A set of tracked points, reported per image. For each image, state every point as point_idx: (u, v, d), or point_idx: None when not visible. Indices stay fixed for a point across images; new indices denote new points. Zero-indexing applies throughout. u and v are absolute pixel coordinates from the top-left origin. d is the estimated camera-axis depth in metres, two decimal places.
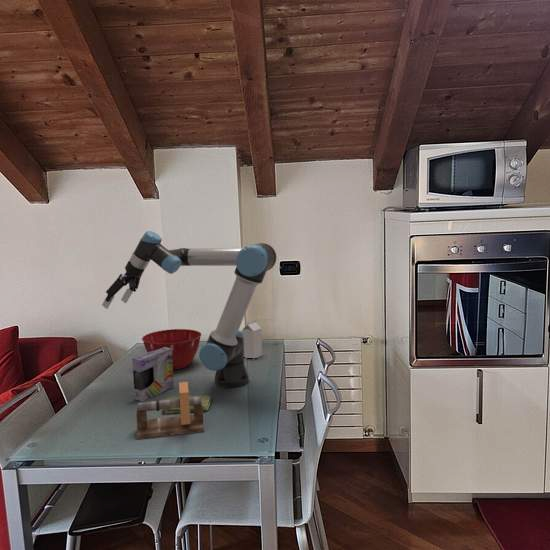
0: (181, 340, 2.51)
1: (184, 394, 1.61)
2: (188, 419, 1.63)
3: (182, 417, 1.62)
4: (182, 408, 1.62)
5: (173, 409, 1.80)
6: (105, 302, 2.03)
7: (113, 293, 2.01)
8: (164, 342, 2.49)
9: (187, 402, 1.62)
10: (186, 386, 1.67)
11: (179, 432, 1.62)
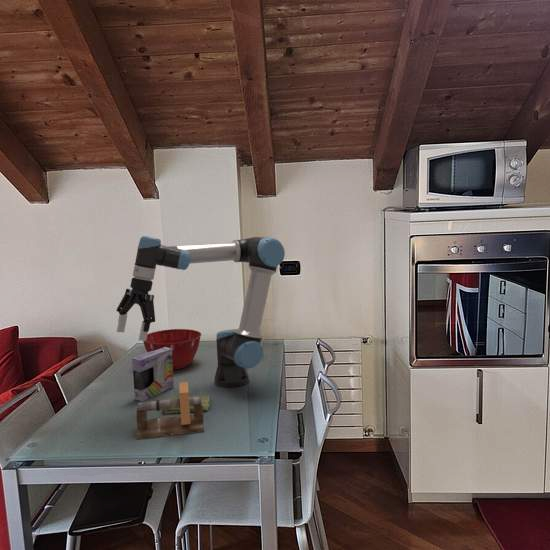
0: (181, 340, 2.51)
1: (184, 394, 1.61)
2: (188, 419, 1.63)
3: (182, 417, 1.62)
4: (182, 408, 1.62)
5: (173, 409, 1.79)
6: (143, 334, 1.72)
7: None
8: (164, 342, 2.49)
9: (187, 402, 1.62)
10: (186, 386, 1.67)
11: (179, 432, 1.62)
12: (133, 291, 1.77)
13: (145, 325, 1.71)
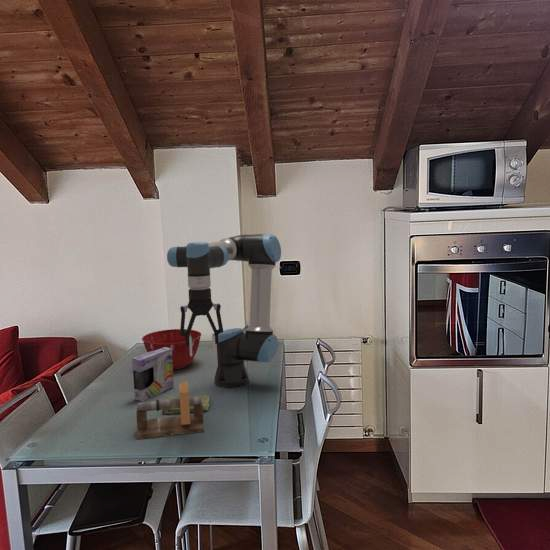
0: (181, 340, 2.51)
1: (184, 394, 1.61)
2: (188, 419, 1.63)
3: (182, 417, 1.62)
4: (182, 408, 1.62)
5: (173, 409, 1.79)
6: None
7: None
8: (164, 342, 2.49)
9: (187, 402, 1.62)
10: (186, 386, 1.67)
11: (179, 432, 1.62)
12: (192, 303, 1.63)
13: (216, 337, 1.67)
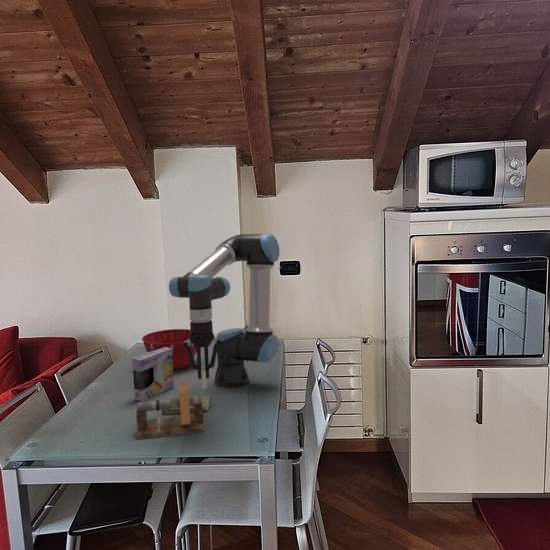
0: (181, 340, 2.51)
1: (184, 394, 1.61)
2: (188, 419, 1.63)
3: (182, 417, 1.62)
4: (182, 408, 1.62)
5: (173, 409, 1.79)
6: None
7: None
8: (164, 342, 2.49)
9: (187, 402, 1.62)
10: (186, 386, 1.67)
11: (179, 432, 1.62)
12: (193, 335, 1.64)
13: (207, 372, 1.67)
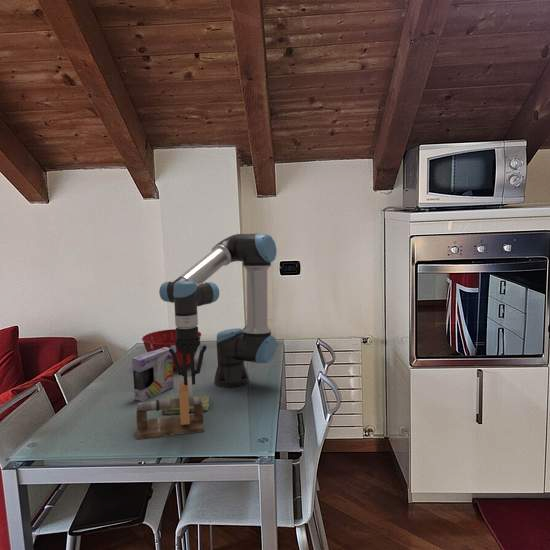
0: None
1: (184, 394, 1.61)
2: (187, 419, 1.63)
3: (181, 417, 1.62)
4: (181, 408, 1.62)
5: (173, 409, 1.79)
6: None
7: None
8: (164, 342, 2.49)
9: (186, 402, 1.62)
10: (185, 386, 1.67)
11: (179, 432, 1.62)
12: (179, 342, 1.64)
13: (193, 378, 1.66)
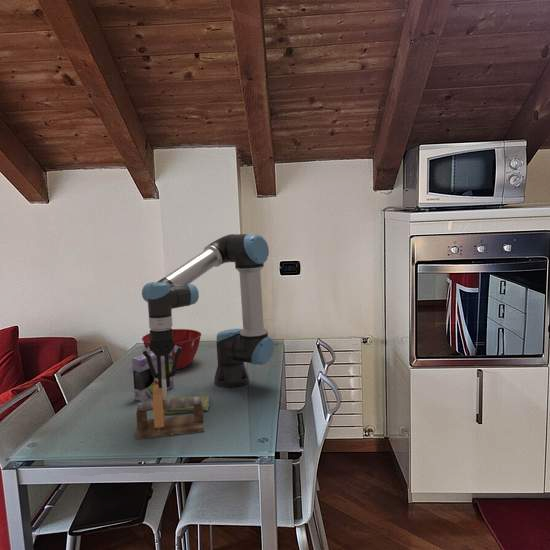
0: (181, 340, 2.51)
1: (157, 397, 1.60)
2: (161, 422, 1.61)
3: (155, 420, 1.60)
4: (155, 411, 1.60)
5: (173, 410, 1.79)
6: (166, 390, 1.65)
7: (169, 373, 1.66)
8: None
9: (160, 405, 1.60)
10: (160, 389, 1.66)
11: (179, 432, 1.62)
12: (152, 344, 1.62)
13: (167, 381, 1.65)
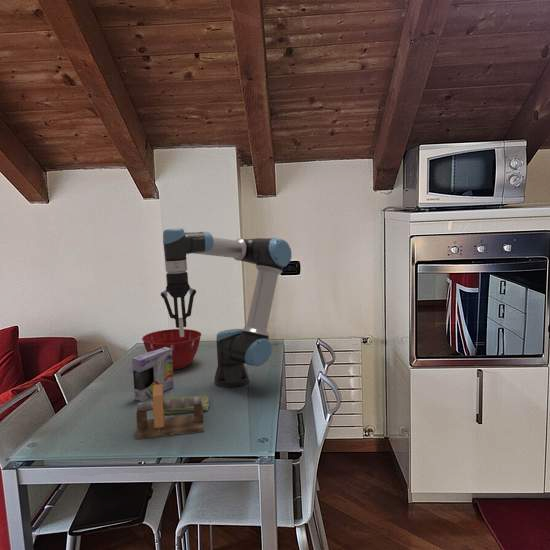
0: (181, 340, 2.51)
1: (157, 397, 1.60)
2: (161, 422, 1.61)
3: (155, 420, 1.60)
4: (155, 411, 1.60)
5: (172, 410, 1.79)
6: (183, 330, 1.77)
7: None
8: (164, 342, 2.49)
9: (160, 405, 1.60)
10: (160, 389, 1.66)
11: (179, 432, 1.62)
12: (169, 286, 1.73)
13: (184, 321, 1.76)
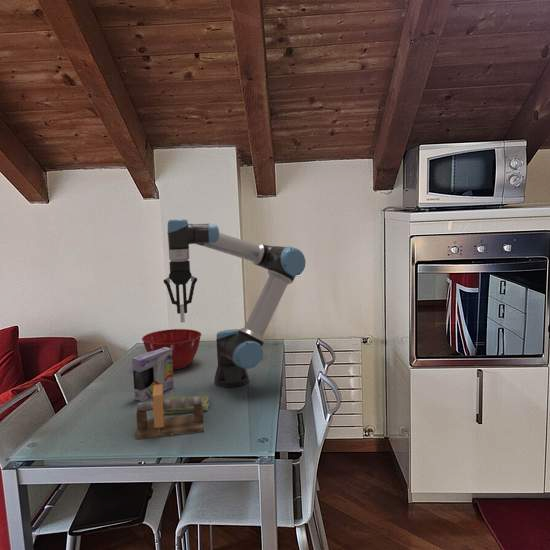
0: (181, 340, 2.51)
1: (157, 397, 1.60)
2: (161, 422, 1.61)
3: (155, 420, 1.60)
4: (155, 411, 1.60)
5: (172, 410, 1.79)
6: None
7: None
8: (164, 342, 2.49)
9: (160, 405, 1.60)
10: (160, 389, 1.66)
11: (179, 432, 1.62)
12: (172, 273, 1.82)
13: (185, 307, 1.85)
